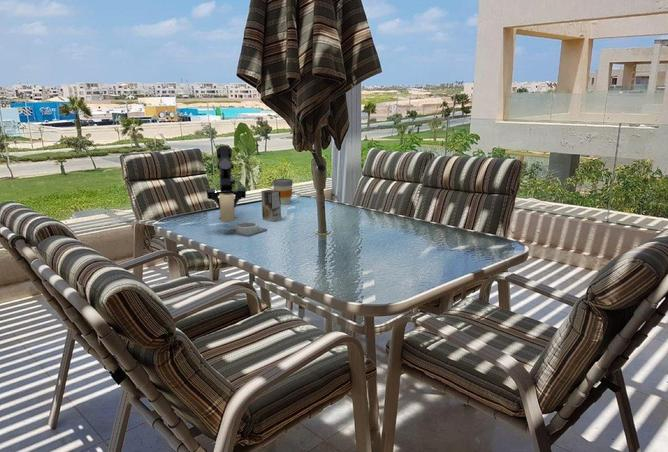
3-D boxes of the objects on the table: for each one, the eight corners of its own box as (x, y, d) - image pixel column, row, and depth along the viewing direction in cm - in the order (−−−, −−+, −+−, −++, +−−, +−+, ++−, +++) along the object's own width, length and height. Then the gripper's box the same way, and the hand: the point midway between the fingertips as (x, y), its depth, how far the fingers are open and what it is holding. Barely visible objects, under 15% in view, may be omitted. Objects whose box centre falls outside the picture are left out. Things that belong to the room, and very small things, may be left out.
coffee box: (281, 220, 276) (280, 191, 273) (272, 222, 272) (271, 192, 268) (270, 217, 282) (270, 189, 279) (261, 219, 278) (261, 190, 274)
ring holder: (246, 226, 261) (246, 220, 260) (267, 230, 254) (266, 224, 253) (227, 232, 250) (226, 225, 249) (247, 236, 242) (247, 229, 241)
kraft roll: (225, 218, 251) (224, 192, 248) (237, 219, 248) (236, 193, 245) (217, 221, 245) (216, 194, 241) (229, 222, 242) (228, 195, 239)
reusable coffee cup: (285, 206, 312) (284, 182, 308) (269, 204, 318) (268, 180, 314) (296, 202, 322) (296, 179, 319) (281, 200, 329) (280, 178, 325)
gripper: (205, 172, 242) (206, 199, 235) (244, 171, 246) (246, 197, 239) (207, 185, 252) (207, 211, 244) (244, 184, 256) (246, 210, 248)
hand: (227, 207), depth 244 cm, fingers closed on kraft roll, 7 cm apart
